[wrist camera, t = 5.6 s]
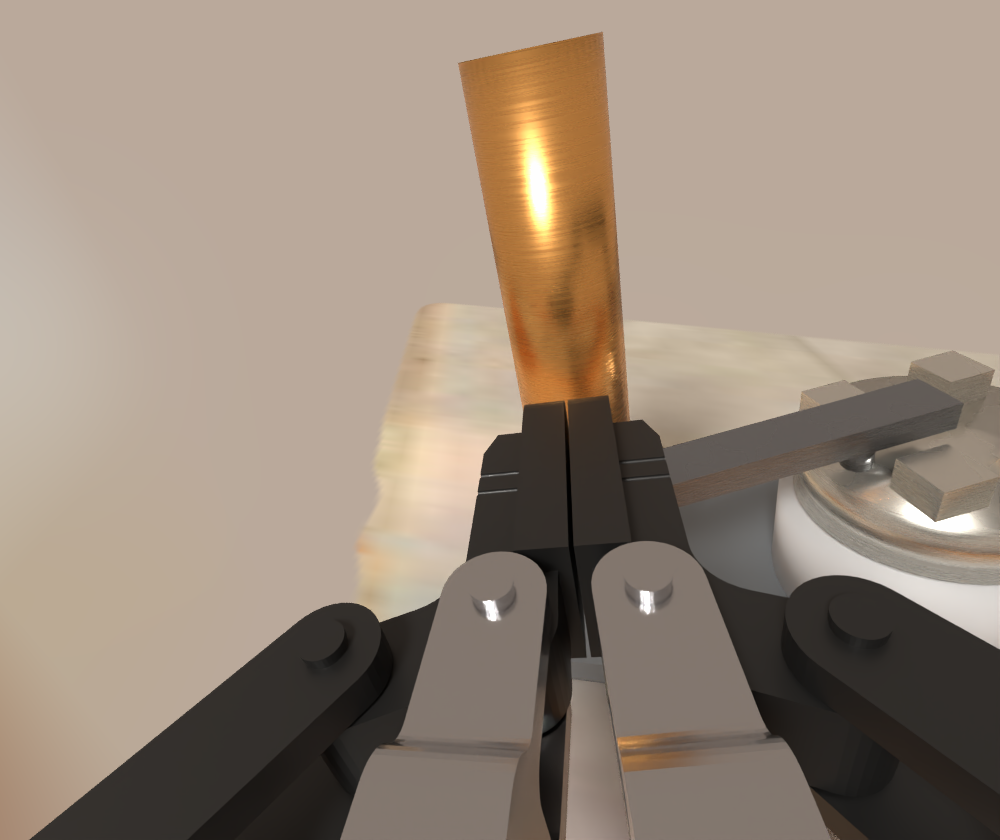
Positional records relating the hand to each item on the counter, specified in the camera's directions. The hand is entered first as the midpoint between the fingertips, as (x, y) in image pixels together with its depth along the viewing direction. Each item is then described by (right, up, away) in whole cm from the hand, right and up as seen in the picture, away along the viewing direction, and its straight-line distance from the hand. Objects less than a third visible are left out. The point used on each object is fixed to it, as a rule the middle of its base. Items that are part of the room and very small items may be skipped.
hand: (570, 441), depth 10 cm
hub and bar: (+10, -4, +11) cm, 15 cm away
